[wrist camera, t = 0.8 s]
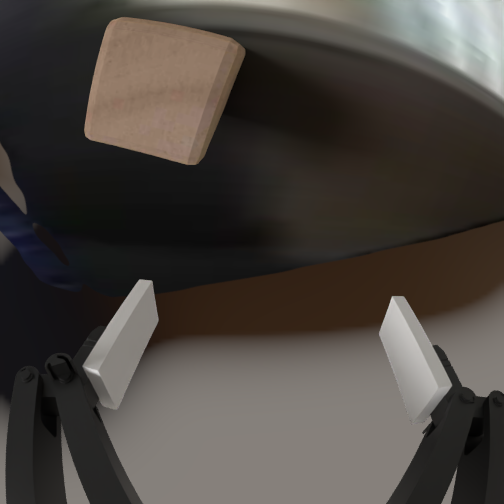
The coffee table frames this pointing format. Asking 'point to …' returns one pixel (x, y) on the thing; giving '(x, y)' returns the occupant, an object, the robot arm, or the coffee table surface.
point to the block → (161, 88)
